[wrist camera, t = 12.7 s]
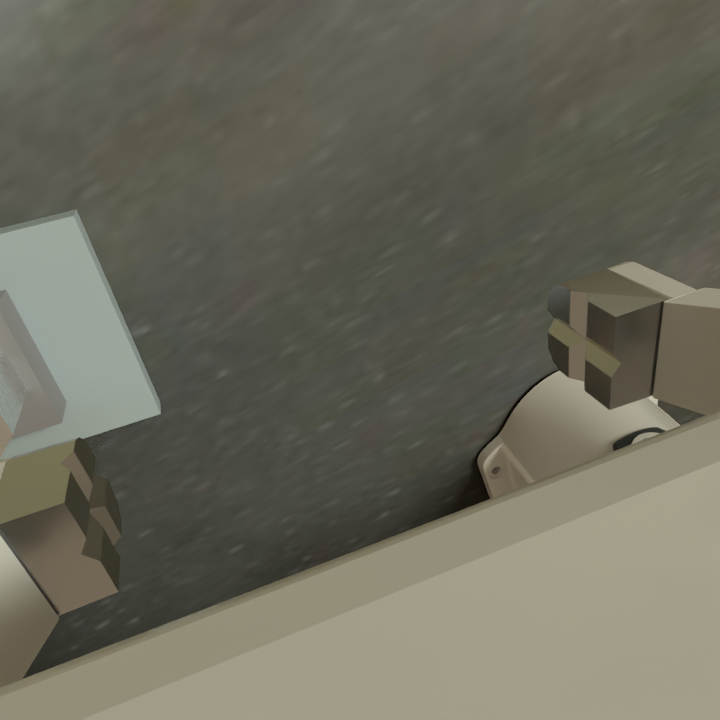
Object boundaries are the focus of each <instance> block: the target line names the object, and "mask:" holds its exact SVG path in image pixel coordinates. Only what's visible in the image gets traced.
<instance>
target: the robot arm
mask: <svg viewBox="0 0 720 720" xmlns="http://www.w3.org/2000/svg"><path fill="white" fill-rule="evenodd" d="M548 311H549V312H550V313H551V314H552V316H553V317H554V318H555V320H554V322H553V324H552V326H551V327H550V329H549V331H548V348H549V351H550V354H551V356H552V359H553V362H554V363H555V365H556V366H557V367H558V369H559V371H557V372H556V373H554V374H552V375H550V376H549V377H547V378H546V379H544V380H543V381H541V382H540V383H539V384H537V385H536V386H535V387H534V388H533V389H532V390H531V391H529V392H528V393H527V394H526V395H525V397H524V398H523V399H522V400H521V401H520V402H519V404H518V405H517V406H516V408H515V409H514V410H513V412H512V414H511V415H510V417H509V419H508V420H507V422H506V424H505V426H504V427H503V429H502V431H501V432H500V433H499V435H498V436H497V437H495V438H494V439H493V440H492V441H491V442H490V443H489V444H488V445H487V446H486V447H485V448H484V449H483V450H482V452H481V453H480V454H479V456H478V459H477V463H478V467H479V469H480V472H481V475H482V478H483V481H484V484H485V486H486V489H487V492H488V495H489V498H490V499H489V500H486V501H484V502H481V503H478V504H476V505H473V506H471V507H468V508H465V509H463V510H460V511H458V512H455V513H452V514H450V515H447V516H445V517H442V518H439V519H437V520H434V521H432V522H429V523H426V524H424V525H421V526H419V527H416V528H414V529H411V530H408V531H406V532H403V533H401V534H398V535H395V536H393V537H390V538H388V539H385V540H382V541H380V542H377V543H375V544H372V545H369V546H367V547H364V548H362V549H359V550H356V551H354V552H351V553H349V554H346V555H343V556H341V557H338V558H336V559H333V560H330V561H328V562H325V563H323V564H320V565H317V566H315V567H312V568H310V569H307V570H305V571H302V572H299V573H297V574H294V575H292V576H289V577H286V578H284V579H281V580H279V581H276V582H273V583H271V584H268V585H266V586H263V587H260V588H258V589H255V590H253V591H250V592H247V593H245V594H242V595H240V596H237V597H234V598H232V599H229V600H227V601H224V602H221V603H219V604H216V605H214V606H211V607H208V608H206V609H203V610H201V611H198V612H195V613H193V614H190V615H188V616H185V617H183V618H180V619H177V620H175V621H172V622H170V623H167V624H164V625H162V626H159V627H157V628H154V629H151V630H149V631H146V632H144V633H141V634H138V635H136V636H133V637H131V638H128V639H125V640H123V641H120V642H118V643H115V644H112V645H110V646H107V647H105V648H102V649H99V650H97V651H94V652H92V653H89V654H86V655H84V656H81V657H79V658H76V659H74V660H71V661H68V662H66V663H63V664H61V665H58V666H55V667H53V668H50V669H48V670H45V671H42V672H40V673H37V674H35V675H32V676H29V677H27V678H24V679H22V678H23V677H24V675H25V673H26V672H27V670H28V669H29V667H30V665H31V664H32V662H33V661H34V659H35V657H36V656H37V654H38V652H39V651H40V649H41V648H42V646H43V644H44V643H45V641H46V640H47V638H48V636H49V635H50V633H51V632H52V630H53V628H54V627H55V625H56V624H57V622H58V620H59V619H60V618H59V617H58V616H59V615H61V614H64V613H66V612H69V611H71V610H74V609H76V608H79V607H81V606H84V605H86V604H89V603H91V602H94V601H96V600H99V599H102V598H104V597H107V596H109V595H112V594H114V593H117V592H119V573H120V556H119V554H118V552H117V551H116V549H115V547H114V545H115V544H116V542H117V541H118V540H119V538H120V537H121V517H120V511H119V506H118V503H117V500H116V497H115V495H114V492H113V490H112V488H111V486H110V484H109V482H108V480H107V479H105V478H103V477H101V476H99V475H97V474H94V468H95V456H94V454H93V453H92V451H91V449H90V448H89V446H88V444H87V443H86V441H84V440H83V439H82V438H80V437H78V438H75V439H71V440H68V441H65V442H61V443H58V444H54V445H51V446H48V447H44V448H41V449H38V450H34V451H31V452H28V453H24V454H21V455H18V456H14V457H12V458H6V459H3V460H0V720H720V289H713V288H703V289H700V290H696V289H694V288H691V287H689V286H687V285H685V284H682V283H680V282H678V281H676V280H673V279H671V278H669V277H666V276H664V275H662V274H660V273H657V272H655V271H653V270H651V269H648V268H646V267H644V266H642V265H639V264H637V263H635V262H623V263H620V264H617V265H615V266H612V267H609V268H606V269H604V270H601V271H598V272H595V273H592V274H589V275H586V276H584V277H581V278H578V279H575V280H572V281H569V282H566V283H563V284H561V285H558V286H555V287H553V288H551V290H550V293H549V296H548ZM657 399H658V400H661V401H664V402H667V403H670V404H673V405H676V406H680V407H683V408H686V409H689V410H692V411H695V412H698V413H701V414H704V415H707V416H704V417H701V418H699V419H696V420H694V421H691V422H688V423H686V424H683V425H681V426H680V425H679V424H678V423H677V422H675V421H674V420H673V419H672V418H671V417H670V416H669V415H668V414H666V413H665V412H664V411H663V410H662V409H661V408H660V407H658V406H657V403H658V400H657Z"/></svg>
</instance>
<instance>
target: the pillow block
mask: <svg viewBox="0 0 720 720" xmlns="http://www.w3.org/2000/svg"><path fill="white" fill-rule="evenodd" d="M0 351H2V352H5V353H6V354H7V356H8V358H9V359H10V361H11V363H12V365H13V366H14V368H15V370H16V371H17V373H18V375H19V377H20V378H21V380H22V382H23V384H24V385H25V387H26V389H27V394H26V397H25V400H24V403H23V406H22V409H21V412H20V415H19V418H18V421H17V424H16V427H15V430H14V433H13V435H12V437H11V439H10V441H9V443H8V445H7V447H6V449H5V451H4V452H3V454H2V456H1V458H0V460H3V459H6V458H12V457H14V456H18V455H21V454H24V453H28V452H31V451H34V450H38V449H41V448H44V447H48V446H51V445H54V444H58V443H61V442H65V441H68V440H71V439H75V438H78V437H80V438H82V439H84V438H87V437H90V436H93V435H96V434H99V433H102V432H106V431H109V430H112V429H115V428H118V427H121V426H124V425H127V424H131V423H134V422H137V421H140V420H143V419H146V418H149V417H152V416H156V415H159V414H161V408H160V401H159V398H158V396H157V394H156V392H155V389H154V387H153V385H152V382H151V380H150V378H149V375H148V373H147V371H146V369H145V366H144V364H143V362H142V359H141V357H140V355H139V352H138V350H137V348H136V346H135V343H134V341H133V339H132V336H131V334H130V332H129V329H128V327H127V325H126V323H125V320H124V318H123V316H122V313H121V311H120V309H119V306H118V304H117V302H116V300H115V297H114V295H113V293H112V290H111V288H110V286H109V284H108V281H107V279H106V277H105V274H104V272H103V270H102V267H101V265H100V263H99V261H98V258H97V256H96V254H95V251H94V249H93V247H92V244H91V242H90V240H89V238H88V235H87V233H86V231H85V228H84V226H83V224H82V221H81V219H80V217H79V215H78V212H77V210H76V209H75V210H71V211H67V212H63V213H59V214H55V215H51V216H47V217H43V218H39V219H35V220H31V221H27V222H23V223H19V224H15V225H11V226H7V227H3V228H0Z"/></svg>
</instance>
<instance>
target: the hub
mask: <svg viewBox="0 0 720 720" xmlns="http://www.w3.org/2000/svg"><path fill="white" fill-rule="evenodd" d="M26 394H27V389H26V387H25V385H24V384H23V382H22V380H21V378H20V377H19V375H18V373H17V371H16V370H15V368H14V366H13V365H12V363H11V361H10V359H9V358H8V356H7V354H6V353H5V352H2V351H0V458H1V456H2V454H3V452H4V451H5V449H6V447H7V445H8V443H9V441H10V439H11V437H12V435H13V433H14V430H15V427H16V424H17V421H18V418H19V415H20V412H21V409H22V406H23V403H24V400H25V397H26Z"/></svg>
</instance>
